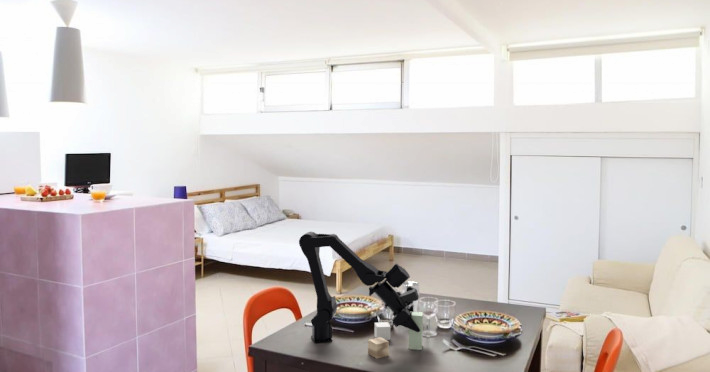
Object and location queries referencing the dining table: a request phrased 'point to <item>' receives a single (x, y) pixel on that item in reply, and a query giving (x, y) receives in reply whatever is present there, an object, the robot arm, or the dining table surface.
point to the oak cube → (378, 347)
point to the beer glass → (414, 285)
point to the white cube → (382, 330)
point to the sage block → (414, 336)
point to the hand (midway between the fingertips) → (419, 329)
